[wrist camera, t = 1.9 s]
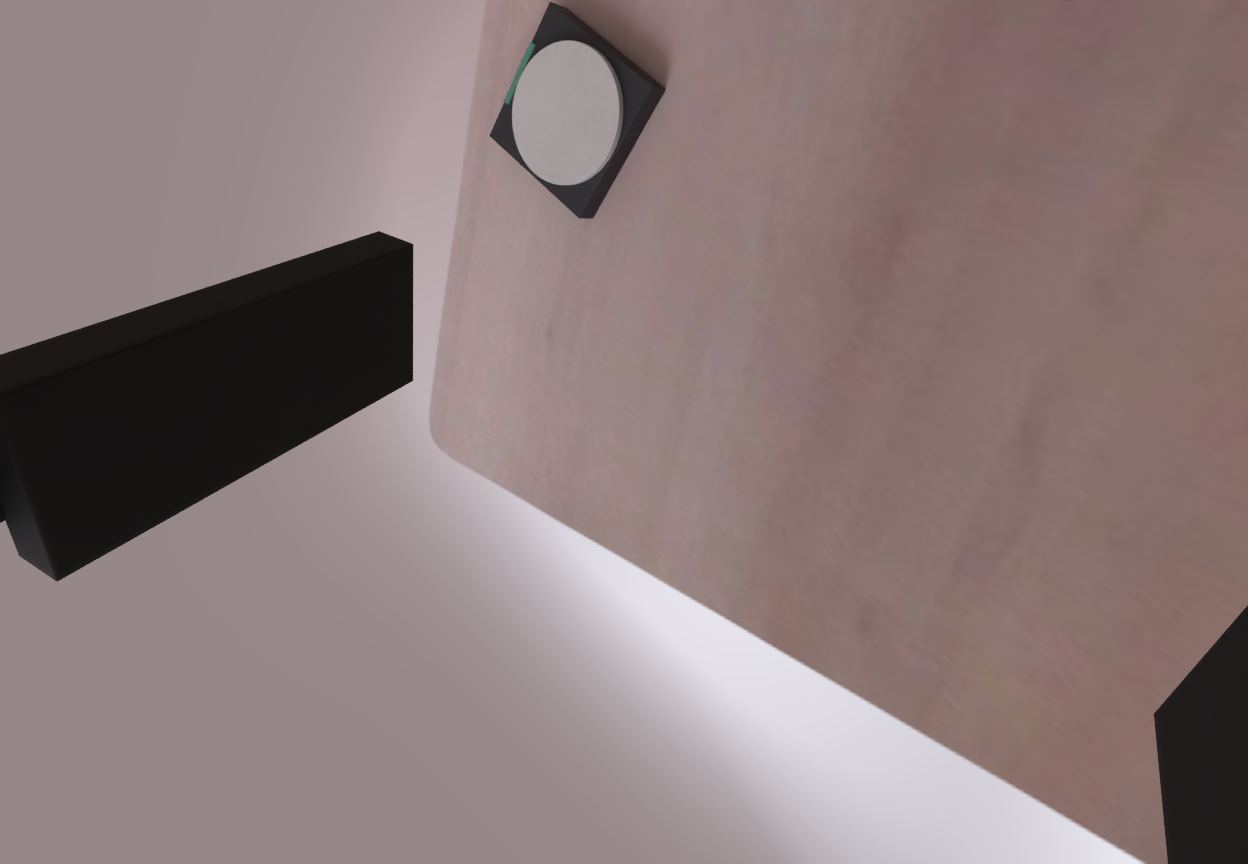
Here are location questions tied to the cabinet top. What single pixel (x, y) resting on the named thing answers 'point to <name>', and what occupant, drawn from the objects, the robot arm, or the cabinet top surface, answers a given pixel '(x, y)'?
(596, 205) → the kitchen scale
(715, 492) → the cabinet top surface
